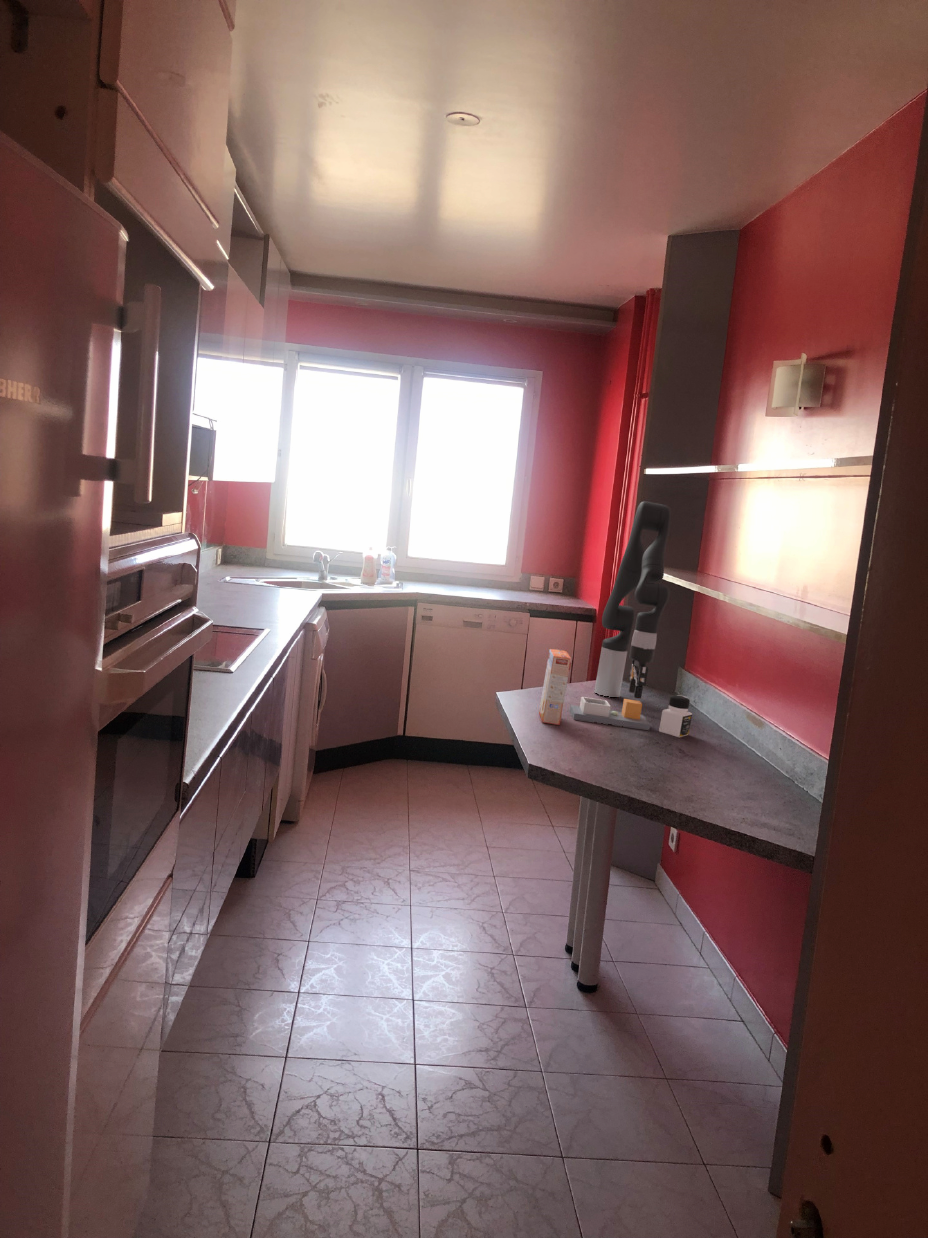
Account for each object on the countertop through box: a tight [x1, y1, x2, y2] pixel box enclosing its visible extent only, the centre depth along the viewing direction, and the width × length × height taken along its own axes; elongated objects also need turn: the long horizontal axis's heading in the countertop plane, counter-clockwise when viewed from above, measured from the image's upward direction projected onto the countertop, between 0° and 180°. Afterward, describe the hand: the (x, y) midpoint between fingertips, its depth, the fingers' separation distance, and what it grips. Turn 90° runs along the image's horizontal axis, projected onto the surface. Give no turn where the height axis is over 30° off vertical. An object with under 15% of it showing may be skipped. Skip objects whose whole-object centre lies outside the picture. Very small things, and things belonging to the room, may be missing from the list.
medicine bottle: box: [658, 694, 693, 738], centre depth 282 cm, size 7×7×12 cm
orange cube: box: [621, 698, 643, 720], centre depth 288 cm, size 5×5×5 cm
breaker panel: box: [568, 696, 651, 731], centre depth 287 cm, size 12×24×6 cm, turn 90°
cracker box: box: [538, 648, 572, 726], centre depth 275 cm, size 14×6×21 cm, turn 179°
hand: (634, 695), depth 287 cm, fingers open, 8 cm apart
